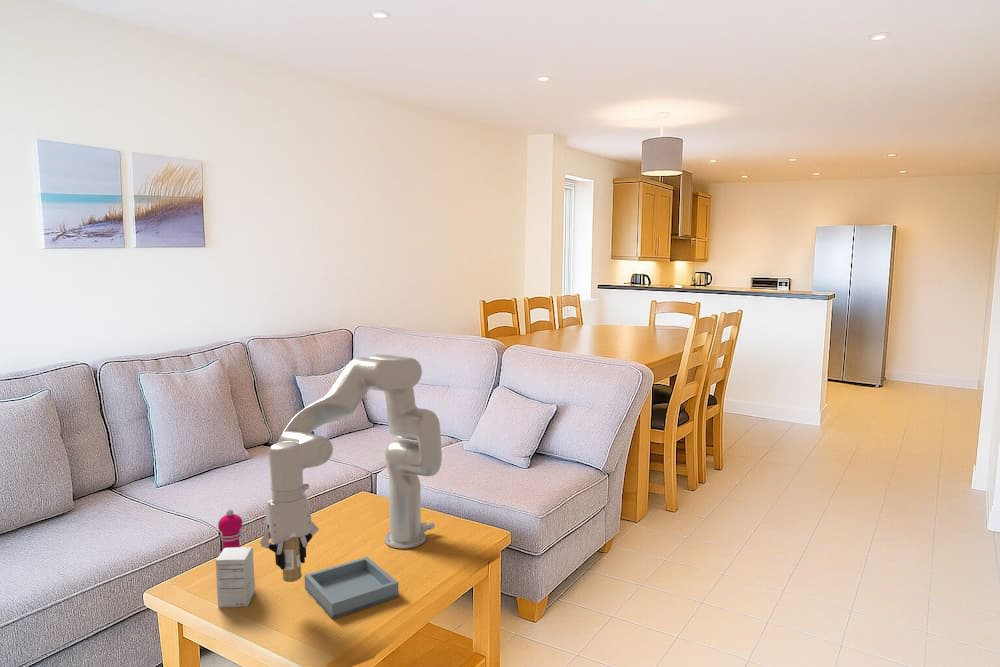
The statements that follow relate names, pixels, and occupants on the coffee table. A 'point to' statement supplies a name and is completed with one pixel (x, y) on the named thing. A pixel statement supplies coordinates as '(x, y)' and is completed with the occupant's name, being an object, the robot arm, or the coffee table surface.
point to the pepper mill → (230, 529)
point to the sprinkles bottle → (291, 559)
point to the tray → (351, 587)
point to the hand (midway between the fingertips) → (291, 563)
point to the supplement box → (235, 577)
